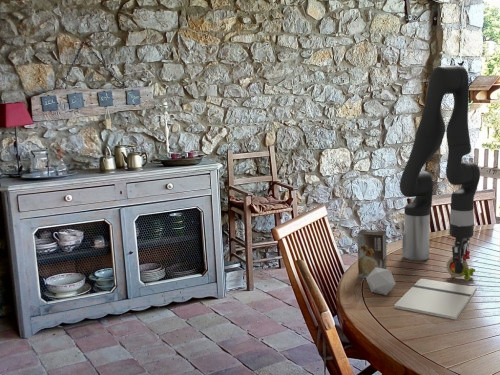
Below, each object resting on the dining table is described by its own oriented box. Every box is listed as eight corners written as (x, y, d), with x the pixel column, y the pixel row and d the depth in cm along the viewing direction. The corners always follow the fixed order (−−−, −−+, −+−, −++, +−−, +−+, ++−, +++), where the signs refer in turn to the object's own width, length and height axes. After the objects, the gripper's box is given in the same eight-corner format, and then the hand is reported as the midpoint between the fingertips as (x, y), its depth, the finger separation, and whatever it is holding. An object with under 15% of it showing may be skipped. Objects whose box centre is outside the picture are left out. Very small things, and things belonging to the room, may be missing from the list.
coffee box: (387, 274, 196) (387, 230, 193) (383, 280, 190) (383, 235, 187) (361, 271, 200) (361, 228, 197) (357, 277, 194) (356, 233, 191)
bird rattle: (451, 286, 188) (477, 279, 183) (438, 256, 188) (464, 249, 183) (454, 280, 193) (480, 273, 188) (442, 251, 193) (467, 244, 189)
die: (399, 292, 180) (388, 265, 184) (397, 288, 173) (386, 260, 176) (375, 301, 182) (365, 273, 186) (372, 297, 174) (361, 269, 178)
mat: (394, 307, 167) (394, 304, 167) (420, 280, 188) (420, 278, 188) (455, 319, 157) (455, 316, 157) (476, 289, 178) (476, 286, 178)
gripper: (455, 216, 193) (454, 263, 196) (444, 225, 181) (443, 275, 185) (478, 218, 189) (476, 266, 192) (468, 228, 177) (466, 279, 180)
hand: (460, 270), depth 188 cm, fingers open, 4 cm apart
